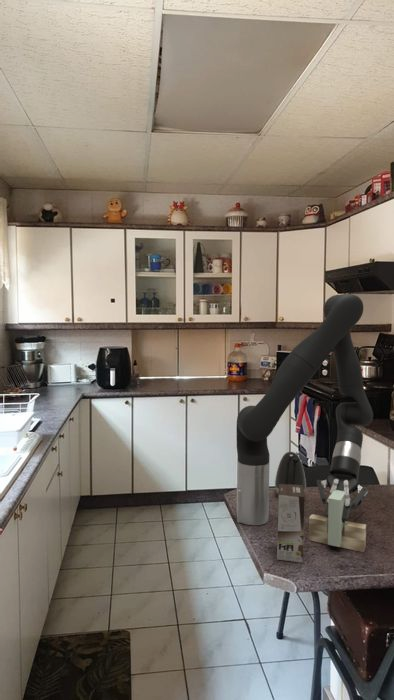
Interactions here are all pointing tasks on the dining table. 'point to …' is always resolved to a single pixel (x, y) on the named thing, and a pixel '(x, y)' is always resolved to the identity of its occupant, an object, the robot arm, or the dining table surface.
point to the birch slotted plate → (350, 538)
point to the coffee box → (290, 522)
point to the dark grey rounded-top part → (290, 471)
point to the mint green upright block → (336, 518)
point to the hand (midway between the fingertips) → (336, 520)
